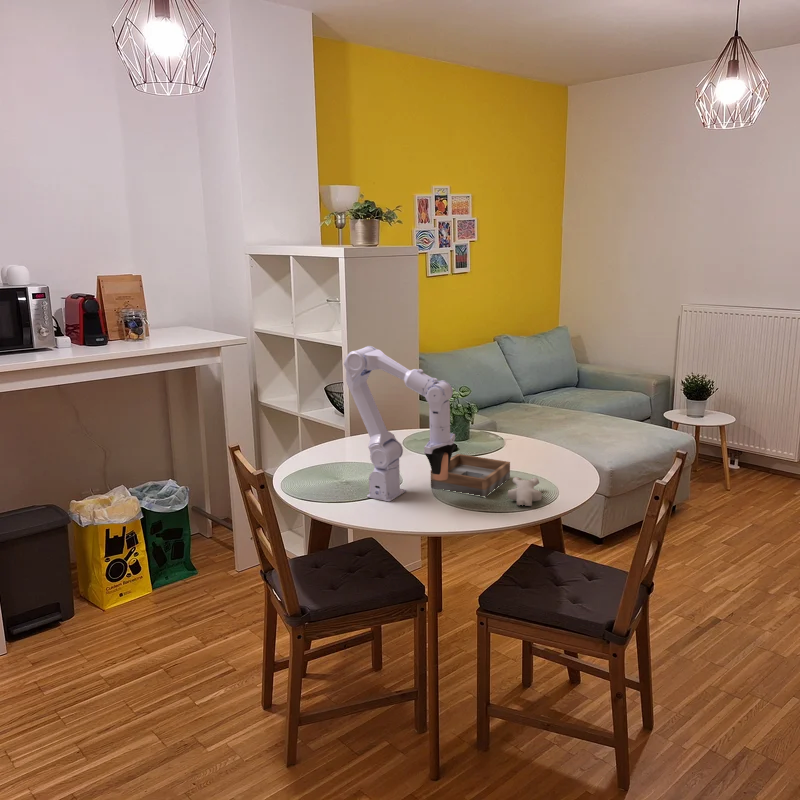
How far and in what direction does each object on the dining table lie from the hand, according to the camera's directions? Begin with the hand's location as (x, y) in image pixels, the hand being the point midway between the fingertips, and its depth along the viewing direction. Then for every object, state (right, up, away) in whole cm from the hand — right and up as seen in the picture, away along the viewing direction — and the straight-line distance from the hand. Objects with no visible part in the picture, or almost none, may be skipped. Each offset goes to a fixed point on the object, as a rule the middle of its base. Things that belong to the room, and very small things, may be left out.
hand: (440, 471), depth 207 cm
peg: (0, -2, 0) cm, 2 cm away
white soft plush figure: (+25, -9, +3) cm, 26 cm away
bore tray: (+10, -5, +16) cm, 20 cm away
